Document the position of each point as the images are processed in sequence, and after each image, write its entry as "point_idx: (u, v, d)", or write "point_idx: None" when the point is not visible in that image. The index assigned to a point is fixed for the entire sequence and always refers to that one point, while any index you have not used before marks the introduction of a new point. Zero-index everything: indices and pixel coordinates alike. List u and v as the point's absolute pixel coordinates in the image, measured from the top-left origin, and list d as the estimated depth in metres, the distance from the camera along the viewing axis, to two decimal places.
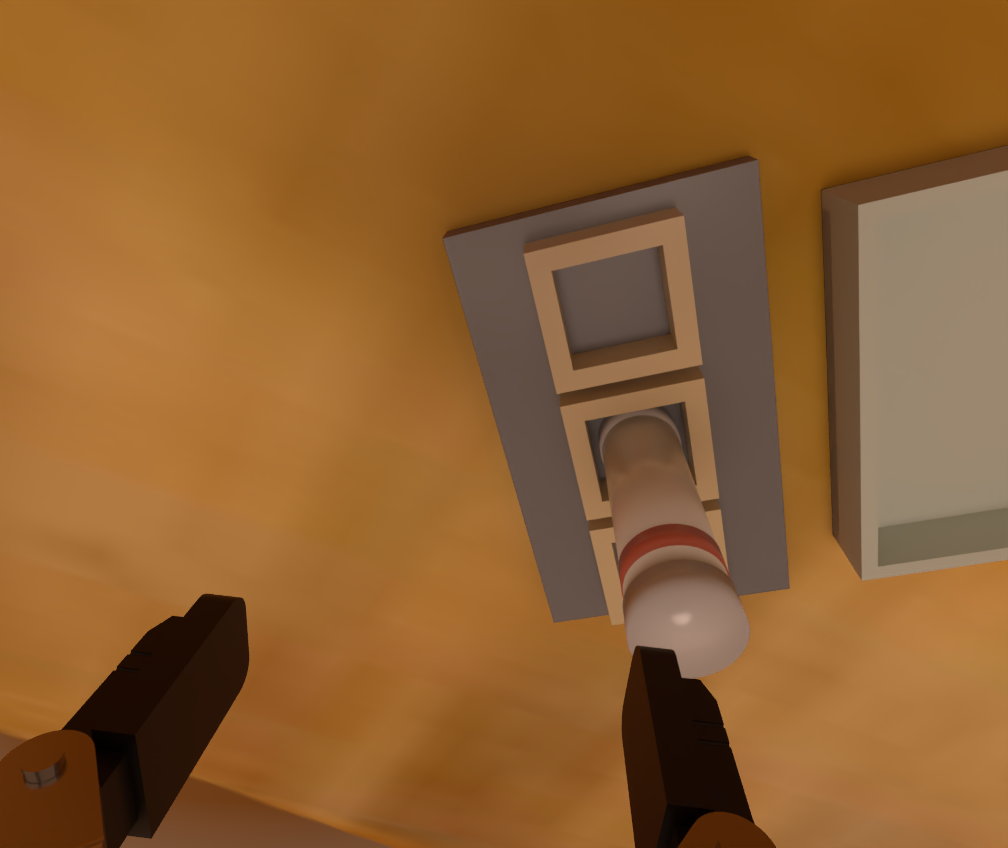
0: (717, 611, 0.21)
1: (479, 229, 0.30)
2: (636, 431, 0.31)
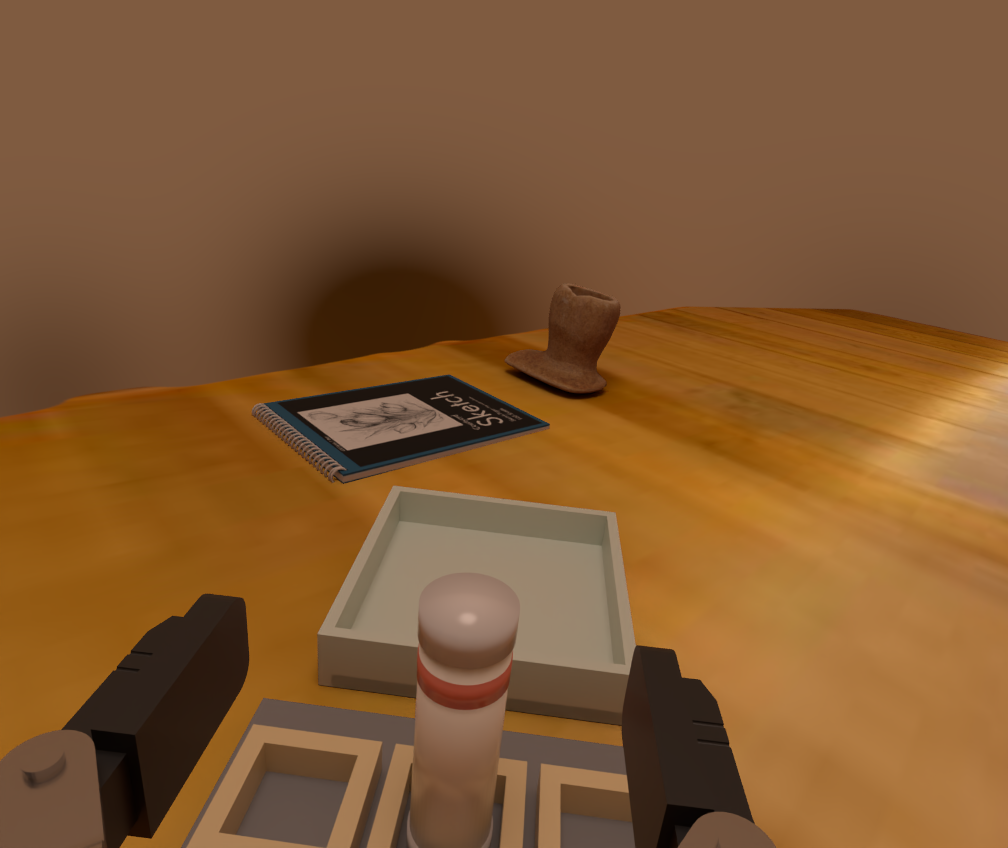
0: (451, 583, 0.27)
1: None
2: None
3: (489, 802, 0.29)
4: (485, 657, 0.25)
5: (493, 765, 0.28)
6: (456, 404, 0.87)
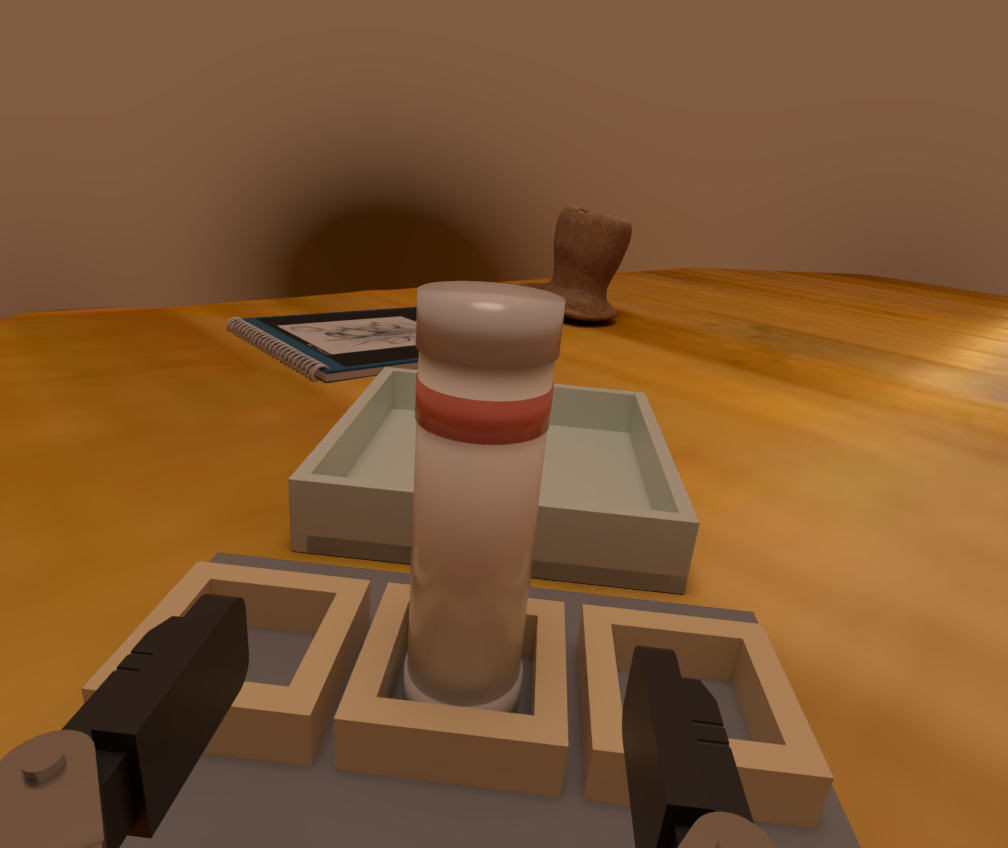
0: (463, 285, 0.19)
1: None
2: None
3: (519, 620, 0.21)
4: (518, 350, 0.17)
5: (526, 558, 0.20)
6: None
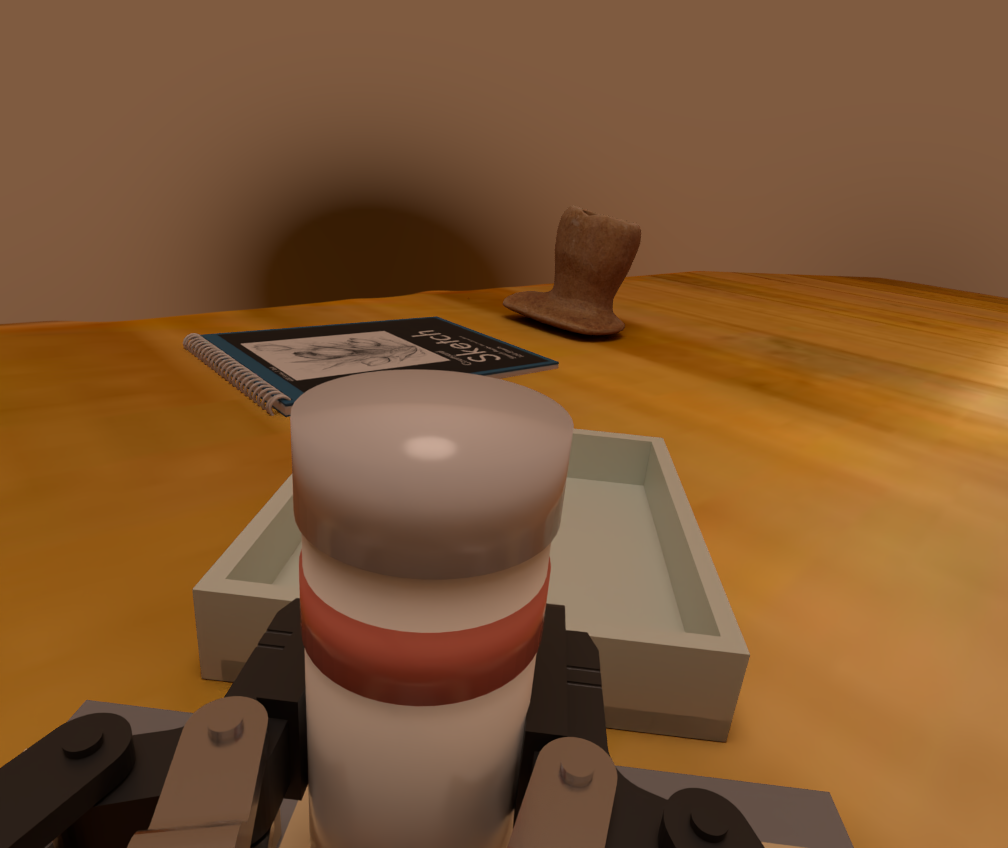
0: (391, 382, 0.11)
1: None
2: None
3: None
4: (478, 543, 0.08)
5: (501, 847, 0.11)
6: (443, 342, 0.71)
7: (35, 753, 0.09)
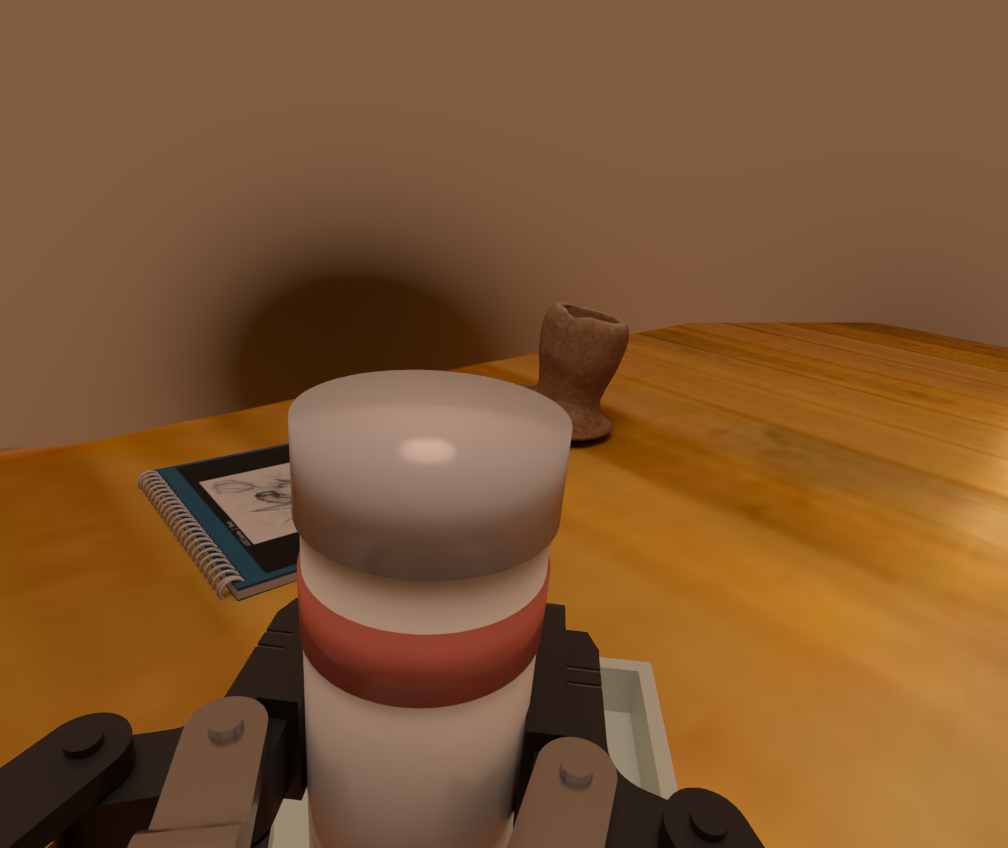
0: (389, 383, 0.11)
1: None
2: None
3: None
4: (477, 545, 0.08)
5: None
6: None
7: (35, 753, 0.09)
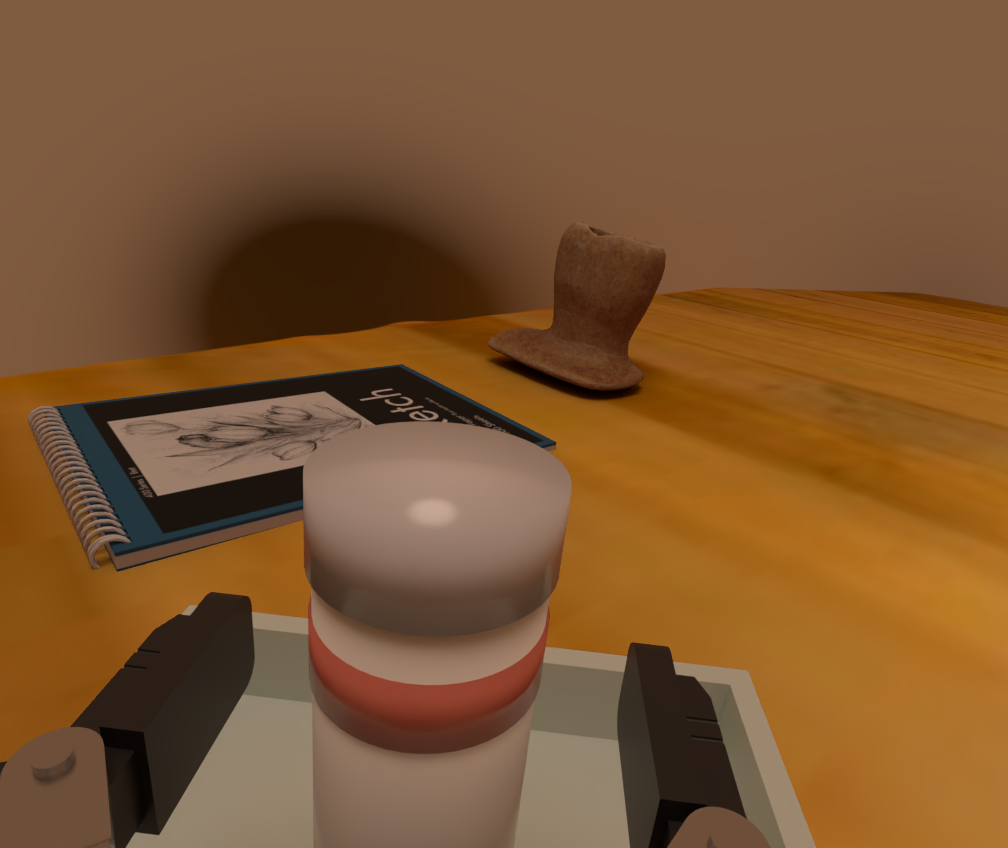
0: (397, 436, 0.11)
1: None
2: None
3: None
4: (481, 602, 0.09)
5: None
6: (401, 409, 0.52)
7: None
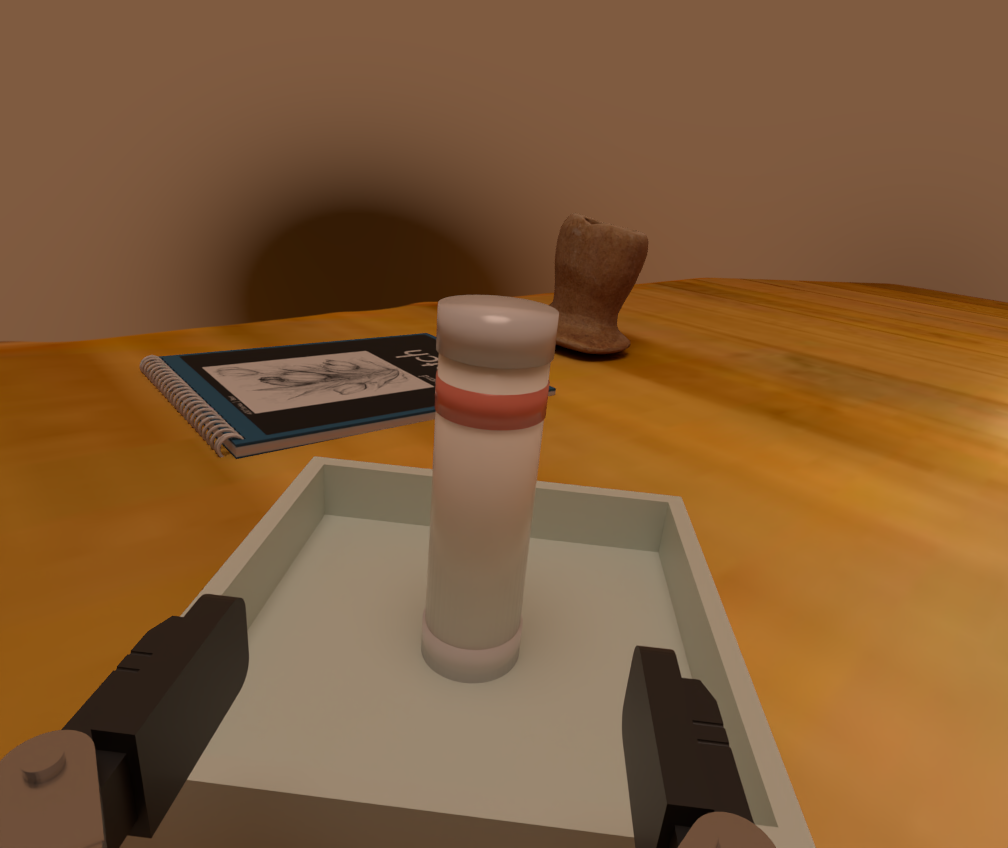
0: (475, 298, 0.23)
1: None
2: None
3: (520, 578, 0.25)
4: (520, 354, 0.20)
5: (525, 525, 0.24)
6: (430, 364, 0.64)
7: None
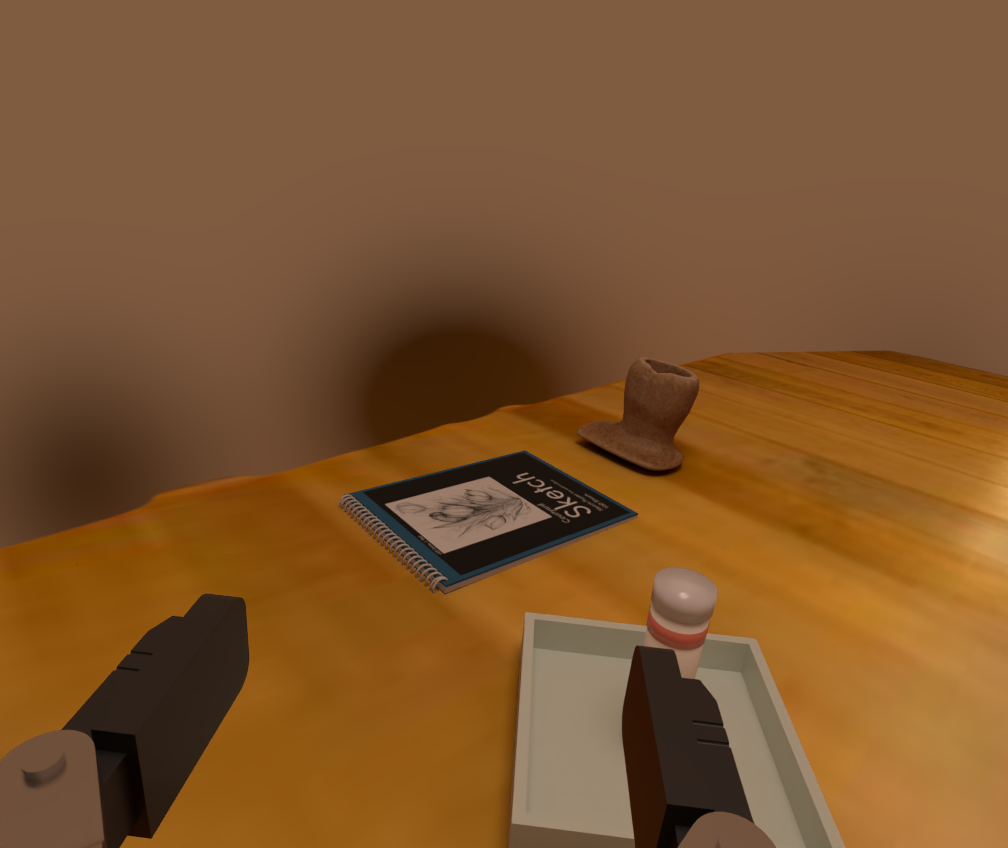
0: (669, 574, 0.44)
1: None
2: None
3: None
4: (702, 616, 0.42)
5: None
6: (540, 489, 0.85)
7: None
